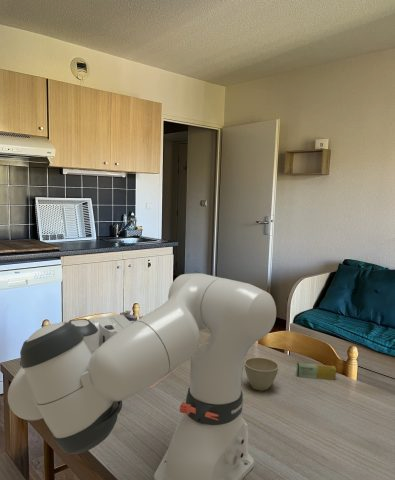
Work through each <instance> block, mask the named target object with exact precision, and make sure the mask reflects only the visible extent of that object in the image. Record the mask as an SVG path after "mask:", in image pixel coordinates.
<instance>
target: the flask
mask: <svg viewBox="0 0 395 480" xmlns="http://www.w3.org/2000/svg"><path fill="white" fill-rule="evenodd" d="M131 312H132V311H131V310H125V311H124V312H120V313H119V315H124V316H125V317H126V318H127V319H128V320H129V321H137V320H138V315H137V316H136V315H134V314H133V315H132V314H131Z"/></svg>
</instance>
